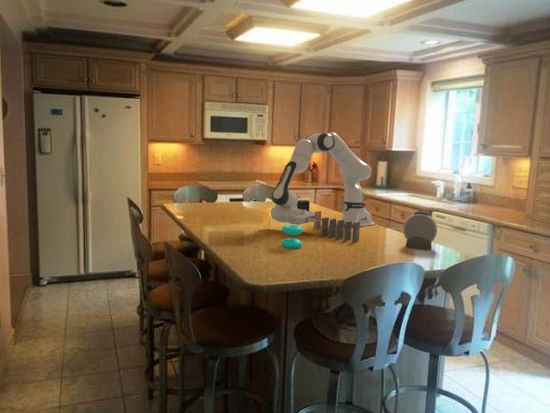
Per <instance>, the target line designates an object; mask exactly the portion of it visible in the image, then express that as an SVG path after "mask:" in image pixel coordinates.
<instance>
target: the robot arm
mask: <svg viewBox="0 0 550 413" xmlns="http://www.w3.org/2000/svg"><path fill="white" fill-rule="evenodd" d="M323 152H328V153H329V154H330V156H331V158H333V159H334V161H335V162H336V163H337V164H338V165H339V168H338V170H339V171H338V172H339V174H340V176H341V178H342V180H343V187H344V199H343V203H342V209H343V210H342V215H341V219H343V220H344V225H345V221H349V220H350V221H352V226H353V223H354V222H357V221H358V222H360V227H366V226H374V225H376V223H375V221H372V220H373V219H372V218H373V217H372V214H371V213H370V212H369V211H368V210H366V208H365V207H367V206H368V203H367V202H363V188H362V186H361V184H360V181H367V180H368V179H370V178H371V176H372V172H373V171H372V167H371V166H370V165H369V164H367V163H366V162H364V161H363V160H362V159H360V158H359V157H358V156H357V155H356V154H355V153H354V152H353V151H352V150H351V148H349V146H348V145H347V144H346V143H345V141H344V140H343V138H341V137H340V135H338V134H337V133H336V132H328V133H326V132H322V133H314V134H311V135H308V136H306V137H305V138H301V139H299V140H298V141H297V143H296V144H295V147H294V149H293V152H292V154H291V157H290V159H289V161H288V162H287V164H286V165H285V167H284V169H283V171H282V174H281V176H280V177H279V181H278V182H277V185H276V187H274V188H273V190H272V192H271V201H272V202H273V203H274V204H275V205H273V206H272V207H271V208H270V217H271V219H272V220H273V221H275V222H279V223H286V224H287V223H288V224H289V225H297V226H300V225H303V224H307V223H314V222H317V219H315V218H314V216H315V211H310V210H309V211H307V210H301V209H296V207H297V202H298V200H299V199H298V196H297V195H296V194H294V193H293V192H292V191H290V190H289V188H290V185H291V182H292V180H293V178H294V175H296V174H300V173H304V172H306V171H307V170H308V168H309V166H310V162H311V159H312V156H313V154H315V153H316V154H318V153H323ZM322 218H323V217H322V216H321V222H322Z"/></svg>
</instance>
